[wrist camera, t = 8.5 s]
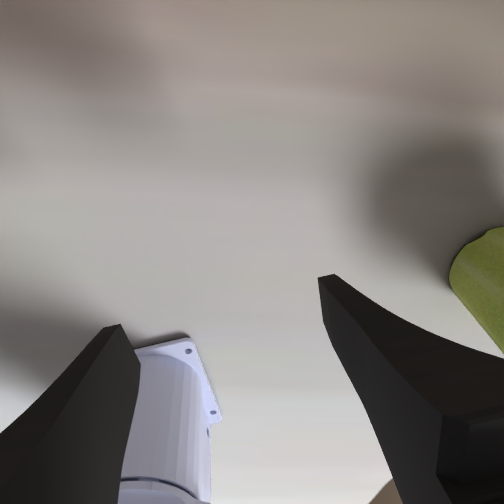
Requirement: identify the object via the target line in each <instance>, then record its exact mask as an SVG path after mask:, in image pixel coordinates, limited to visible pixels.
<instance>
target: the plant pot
mask: <svg viewBox="0 0 504 504" xmlns="http://www.w3.org/2000/svg"><path fill="white" fill-rule="evenodd" d="M449 282H450V285H451V287H452V289H453V291H454V293H455V295H456V296H457V297H458V298H459V300H460V301H461V302H462V303H463V305H464V306H465V307H466V308H467V309H468V311H469V312H470V313H471V314H472V315H473V317H474V318H475V319H476V320H477V321H478V323H479V324H480V325H481V326H482V328H483V329H484V330H485V331H486V332H487V334H488V335H489V336H490V337H491V339H492V340H493V341H494V342H495V344H496V345H497V346H498V347H499V349H500V350H501V351H502V352H503V354H504V227H499V228H494V229H491V230H489V231H487V232H486V233H485V234H484V235H483V236H482V237H480V238H479V239H477V240H475V241H473V242H471V243H468V244H467V245H466V246H464V248H463V249H462V250H461V251H460V252H459V254H458V255H457V256H456V258H455V260H454V262H453V264H452V266H451V269H450V274H449Z"/></svg>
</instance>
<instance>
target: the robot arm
mask: <svg viewBox="0 0 504 504" xmlns="http://www.w3.org/2000/svg"><path fill="white" fill-rule="evenodd" d="M318 284H319V292H320V300H321V308H322V316H323V322H324V325H325V328H326V330H327V333H328V336H329V338H330V341H331V343H332V346H333V348H334V350H335V352H336V354H337V355H338V357H339V359H340V361H341V363H342V365H343V367H344V369H345V371H346V373H347V375H348V376H349V378H350V380H351V382H352V384H353V386H354V388H355V390H356V392H357V393H358V395H359V397H360V399H361V401H362V403H363V405H364V408H365V410H366V412H367V414H368V417H369V419H370V421H371V424H372V426H373V429H374V431H375V434H376V436H377V438H378V441H379V443H380V446H381V449H382V451H383V454H384V456H385V459H386V461H387V464H388V466H389V469H390V471H391V474H392V476H393V479H394V482H395V484H396V487H397V490H398V492H399V495H400V497H401V500H402V502H403V504H504V359H503V358H500V357H497V356H494V355H490V354H487V353H484V352H481V351H478V350H475V349H472V348H469V347H466V346H463V345H461V344H458V343H455V342H453V341H450V340H448V339H445V338H443V337H440V336H438V335H435V334H433V333H431V332H429V331H426V330H424V329H422V328H420V327H418V326H416V325H414V324H412V323H410V322H408V321H406V320H404V319H402V318H400V317H398V316H397V315H395V314H393V313H391V312H390V311H388V310H386V309H385V308H383V307H381V306H380V305H378V304H377V303H375V302H374V301H372V300H371V299H369V298H368V297H366V296H365V295H363V294H362V293H360V292H359V291H357V290H356V289H355V288H353V287H352V286H351V285H349V284H348V283H346V282H345V281H344V280H342V279H341V278H340V277H338V276H337V275H335V274H331V275H327V276H323V277H319V278H318ZM186 349H191V350H186ZM221 421H222V414H221V411H220V409H219V406H218V404H217V401H216V398H215V396H214V393H213V391H212V388H211V386H210V383H209V380H208V378H207V375H206V373H205V370H204V367H203V365H202V362H201V360H200V357H199V354H198V352H197V349H196V347H195V344H194V341H193V340H192V339H191V338H182V339H177V340H173V341H169V342H165V343H160V344H156V345H152V346H148V347H143V348H139V349H135V350H134V349H133V347H132V345H131V344H130V342H129V340H128V338H127V336H126V334H125V332H124V330H123V328H122V326H121V324H118V325H113V326H109V327H105V328H103V329H102V330H101V331H100V332H99V333H98V334H97V335H96V336H95V337H94V338H93V339H92V341H91V342H90V343H89V344H88V345H87V346H86V347H85V348H84V350H83V351H82V352H81V353H80V354H79V355H78V356H77V357H76V359H75V360H74V361H73V362H72V363H71V364H70V365H69V366H68V368H67V369H66V370H65V371H64V372H63V373H62V374H61V375H60V376H59V377H58V378H57V379H56V380H55V381H54V383H53V384H52V385H51V386H50V387H49V388H48V389H47V390H46V391H45V392H44V393H43V394H42V395H41V396H40V397H39V398H38V399H37V400H36V401H35V402H34V403H33V404H32V405H31V406H30V407H29V408H28V409H27V410H26V411H25V412H24V413H23V414H21V415H20V416H19V417H18V418H17V419H16V420H15V421H14V422H13V423H11V424H10V425H9V426H8V427H7V428H6V429H5V430H4V431H2V432H1V433H0V504H211V503H210V502H211V425H213V424H217V423H220V422H221Z"/></svg>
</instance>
